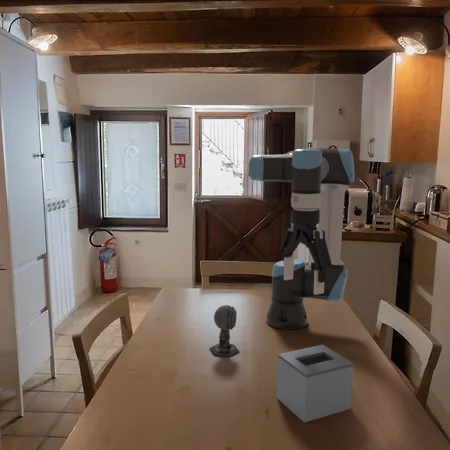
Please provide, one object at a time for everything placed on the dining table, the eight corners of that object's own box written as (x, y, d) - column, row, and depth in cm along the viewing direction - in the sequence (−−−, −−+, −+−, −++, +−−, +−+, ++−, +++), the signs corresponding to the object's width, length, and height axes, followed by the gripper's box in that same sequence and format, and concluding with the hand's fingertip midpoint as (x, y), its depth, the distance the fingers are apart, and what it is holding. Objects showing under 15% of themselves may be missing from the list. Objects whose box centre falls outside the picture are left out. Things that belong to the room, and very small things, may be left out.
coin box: (320, 386, 124) (322, 344, 122) (350, 408, 113) (353, 363, 111) (276, 397, 118) (278, 354, 116) (304, 422, 107) (306, 374, 105)
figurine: (237, 358, 140) (238, 311, 138) (206, 355, 142) (206, 309, 140) (242, 346, 149) (242, 302, 146) (212, 344, 151) (212, 300, 148)
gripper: (267, 203, 129) (266, 275, 133) (324, 216, 108) (321, 302, 112) (289, 201, 133) (287, 272, 137) (349, 214, 111) (345, 297, 115)
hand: (302, 286), depth 124 cm, fingers open, 13 cm apart
